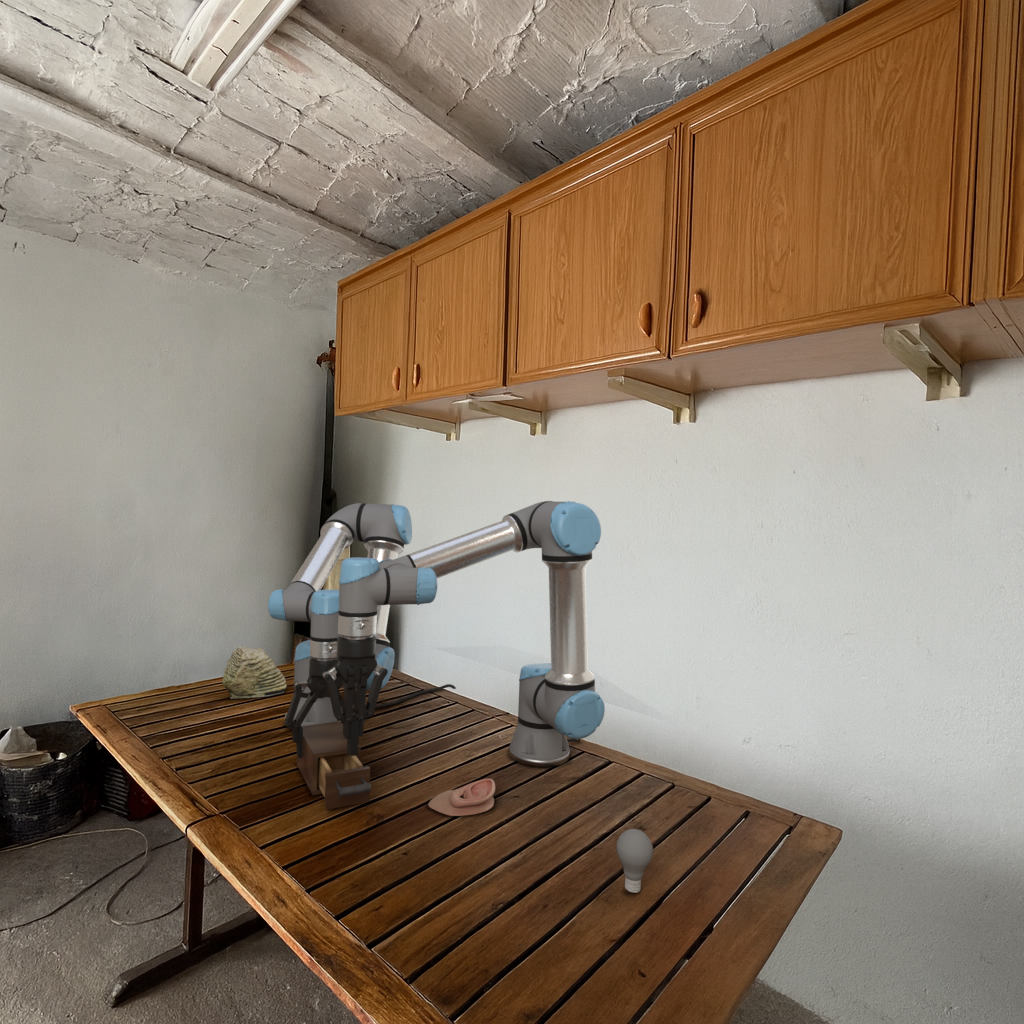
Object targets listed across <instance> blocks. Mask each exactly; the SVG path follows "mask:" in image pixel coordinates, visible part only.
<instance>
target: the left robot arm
mask: <svg viewBox="0 0 1024 1024" xmlns="http://www.w3.org/2000/svg"><path fill="white" fill-rule="evenodd" d="M412 522H413V521H412V516H411V512H410V510H409V509H408V508H407V507H406V506H405V505H400V504H394V503H392V504H386V503H385V504H384V503H364V502H359V503H358V502H357V503H352V504H349V505H347V506H345V507H343V508H341V509H339V510H337V511H336V512H334V513H333V514H332V515H331V516H330V517H329V518H328V519H326V521H325V522H324V524H323V525H322V526H321V528H320V534H319V535H320V536H319V538H318V539H317V541H316V543H315V544H314V546H313V548H312V549H311V551H310V552H309V553H308V555H307V557H306V558H305V560H304V561H303V563H302V564H301V566H300V567H299V569H298V571H297V573H296V574H295V576H294V577H293V579H292V580H291V582H290V583H289V585H288V586H287V588H286V589H284V588H281V589H275V590H273V591H272V592H271V593H270V595H269V598H268V602H267V610H268V615H269V616H270V617H271V618H272V619H273V620H279V621H286V622H291V621H292V622H309V623H310V639H307V640H304V641H302V642H299V643H298V644H297V645H296V647H295V654H294V659H293V661H294V670H293V671H294V672H293V694H292V697H291V699H290V703H289V706H288V709H287V712H286V713H285V716H284V722H283V723H284V725H285V726H286V728H287V729H289V730H291V732H292V733H291V734H292V735H291V736H292V737H291V739H292V742H293V743H296V749H295V752H296V753H295V754H296V757H297V756H298V758H301V757H302V742H303V728H302V727H301V726H307V725H315V724H322V723H330V722H337V721H338V720H337V719H336V718H335V717H334V714H333V709H332V704H331V700H330V695H329V690H328V685H327V682H326V681H325V679H324V678H323V676H322V673H323V672H324V671H326V672H328V671H329V670H330V669H332V668H333V667H334V663H335V661H336V658H337V638H338V637H339V636H341V635H339V634H338V614H339V589H322V588H323V587H324V585H325V583H326V581H327V580H328V578H329V576H330V575H331V573H332V571H333V569H334V568H335V566H336V564H337V563H338V561H339V559H340V557H341V555H342V554H343V553H344V550H345V549H348V548H349V547H350V546H351V545H352V543H357V542H360V543H361V542H362V543H363V547H364V548H365V549H366V551H367V556H366V558H375V559H377V560H378V561H382V560H386V559H391V560H394V559H397V558H398V556H400V554H402V553H403V552H404V548H405V545H406V546H407V545H410V544H411V542H412V539H413V523H412ZM390 608H391V605H378V607H377V625H376V634H374V636H375V637H376V654H375V658H376V660H377V664H378V665H380V666H383V667H385V668H386V669H387V670H388V673H387V675H386V676H385V678H384V679H383V681H382V685H381V689H380V690H382V689H383V688H384V687H385V686H386V685H387V684H388V683H389V681H390V678H391V677H392V676H391V675H392V673H393V670H394V666H395V657H396V655H395V650H394V648H392V647H391V646H390V645H391V641H390V640H389V639H388V637H387V628H388V620H389V614H390ZM374 670H375V669H374ZM373 677H374V671H373V672H372V674H371V675H370V677H369V678H368V679H367V687H366V691H370V688H371V684H372V681H373ZM343 682H344V681H343V680H342V678H341V677H340V675H339V674H338V673H336V680H335V684H336V687H337V692H338V696H339V701H340V706H341V710H342V713H343V698H344V697H343V696H342V694H341V692H340V689H344V684H343ZM447 688H451V689H452V690H456V689H457V687H456V686H455V685H454V684H450V683H447V684H444V685H441V686H438V687H433V688H428V689H424V690H420V691H417V692H414V693H411V694H408V695H407V696H404V697H401V698H399V699H396V700H393V701H390V702H385V703H382V704H376V707H375V710H376V709H382V708H386V707H390V706H393V705H397V704H400V703H402V702H405V701H406V700H410V699H412V698H414V697H417V696H419V695H423V694H427V693H432V692H436V691H442V690H444V689H447ZM356 690H357V684H356V683H354V689H353V705H352V718H356ZM340 722H341V723H342V724H343V721H340Z"/></svg>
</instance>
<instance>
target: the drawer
mask: <svg viewBox="0 0 1024 1024" xmlns="http://www.w3.org/2000/svg"><path fill="white" fill-rule="evenodd" d="M317 784H318V786H319V788H320V790H321V792H322V793H323V794H322V795H323V797H324V809H325V811H328V810H333V809H338V808H341V807H348V806H352V805H358V804H364V803H367V802H368V803H369V802H370V793H371V792H372V783H371V767H370V766H369V765H367V766H364V765H363V763H362V762H361V760H360V761H359V759H358V758H357V757H356V755H354V756H350V755H349V753H344V754H338V755H332V756H325V757H319V758H318V774H317Z"/></svg>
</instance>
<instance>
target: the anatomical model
mask: <svg viewBox="0 0 1024 1024" xmlns="http://www.w3.org/2000/svg"><path fill="white" fill-rule="evenodd" d="M495 793H496V783H495V781H494V779H492V778H483V779H480V780H477V781H473V782H470V783H468V784H465V785H464V786H461V787H459V788H456V789H451V790H446V791H443V792H441V793H439V794H437V795H436V796H434V797H433V798H431V800H429V802H428V804H427V805H428V808H430V809H431V810H434V811H436V812H438V813H439V814H443V815H446V816H450V817H461V816H472V815H478V814H481V813H484V812H487V811H489V810H491V809H492V808H493V807H494V806H495V805H494V804H495V798H494V795H495Z"/></svg>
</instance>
